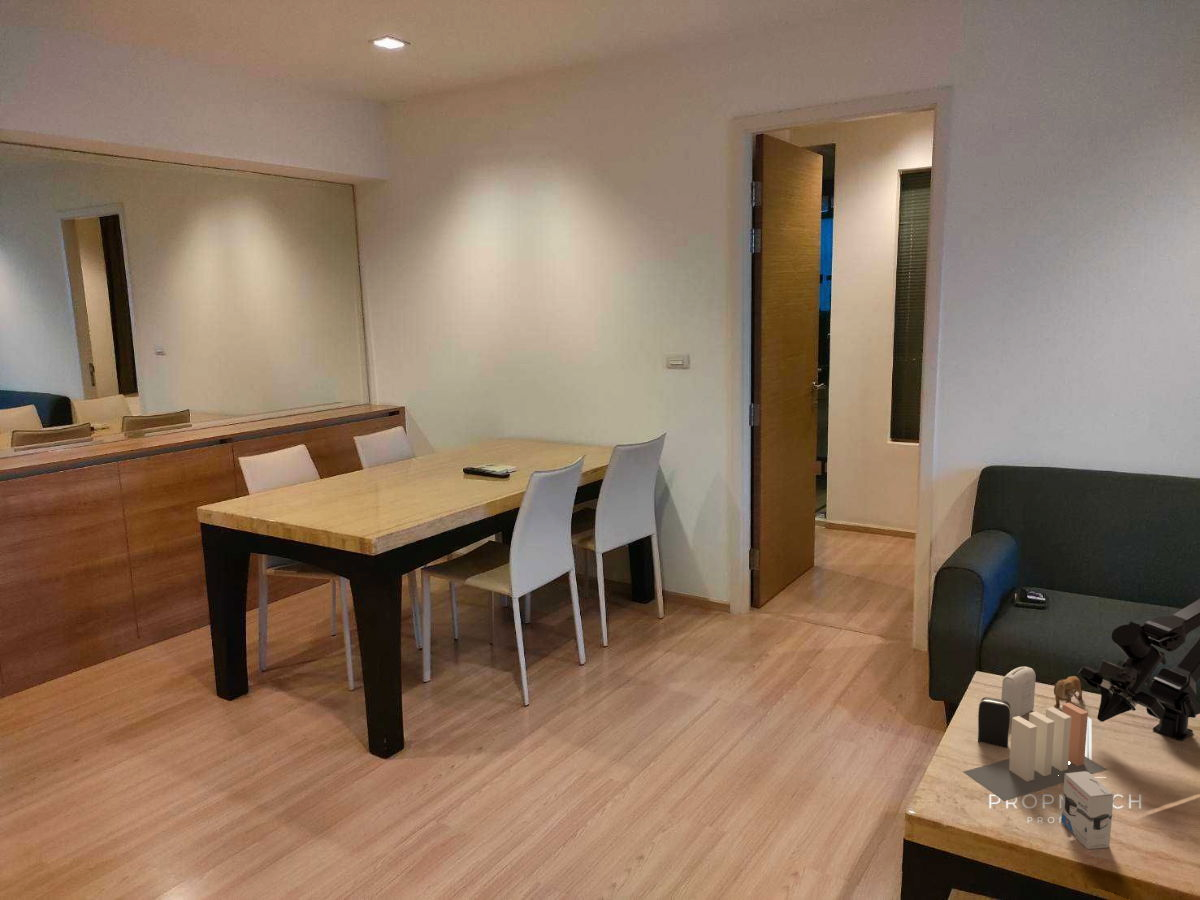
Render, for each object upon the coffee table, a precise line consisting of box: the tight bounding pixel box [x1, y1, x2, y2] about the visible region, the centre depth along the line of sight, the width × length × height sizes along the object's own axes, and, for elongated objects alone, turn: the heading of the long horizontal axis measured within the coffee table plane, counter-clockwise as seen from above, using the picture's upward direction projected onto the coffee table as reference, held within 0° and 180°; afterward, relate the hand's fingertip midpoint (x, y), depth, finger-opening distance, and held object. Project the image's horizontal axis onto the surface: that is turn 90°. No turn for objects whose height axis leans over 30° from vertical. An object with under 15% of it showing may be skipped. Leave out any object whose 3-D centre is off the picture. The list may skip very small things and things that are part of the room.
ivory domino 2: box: [1028, 711, 1055, 776], centre depth 189 cm, size 2×5×13 cm, turn 19°
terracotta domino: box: [1061, 702, 1089, 766], centre depth 192 cm, size 2×5×13 cm, turn 19°
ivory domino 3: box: [1045, 706, 1071, 771], centre depth 190 cm, size 2×5×13 cm, turn 20°
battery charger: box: [977, 696, 1011, 749], centre depth 201 cm, size 7×4×11 cm, turn 60°
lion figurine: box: [1053, 675, 1083, 709], centre depth 219 cm, size 15×5×9 cm, turn 140°
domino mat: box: [963, 756, 1108, 802], centre depth 190 cm, size 30×12×1 cm, turn 110°
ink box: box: [1061, 771, 1115, 850], centre depth 167 cm, size 8×5×12 cm, turn 5°
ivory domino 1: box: [1009, 716, 1037, 781], centre depth 187 cm, size 2×5×13 cm, turn 20°
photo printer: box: [1000, 666, 1037, 720], centre depth 215 cm, size 10×4×12 cm, turn 123°
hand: (1099, 720), depth 194 cm, fingers closed
